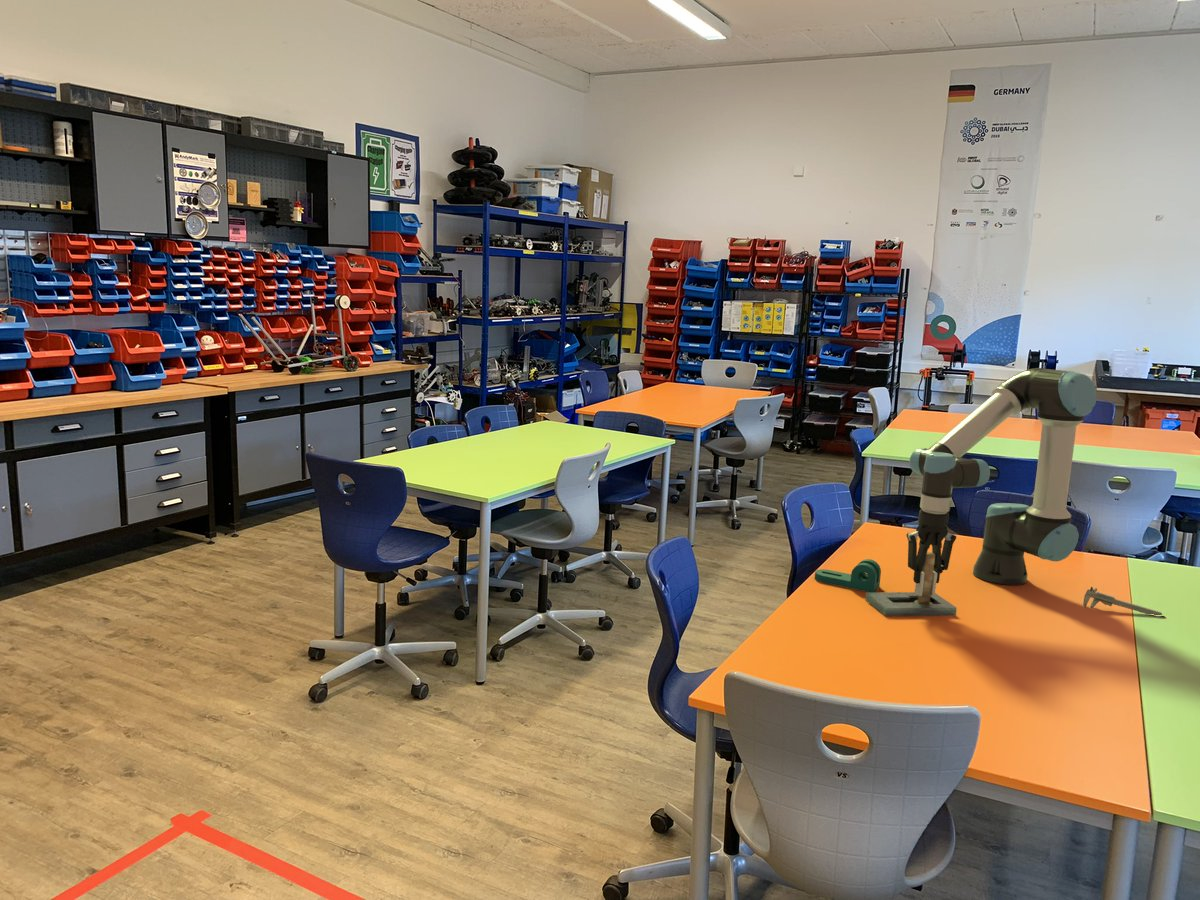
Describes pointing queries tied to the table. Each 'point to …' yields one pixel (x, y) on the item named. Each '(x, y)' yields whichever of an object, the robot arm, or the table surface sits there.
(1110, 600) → the caliper
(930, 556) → the peg
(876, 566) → the bracket
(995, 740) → the table surface
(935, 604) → the keyhole plate
